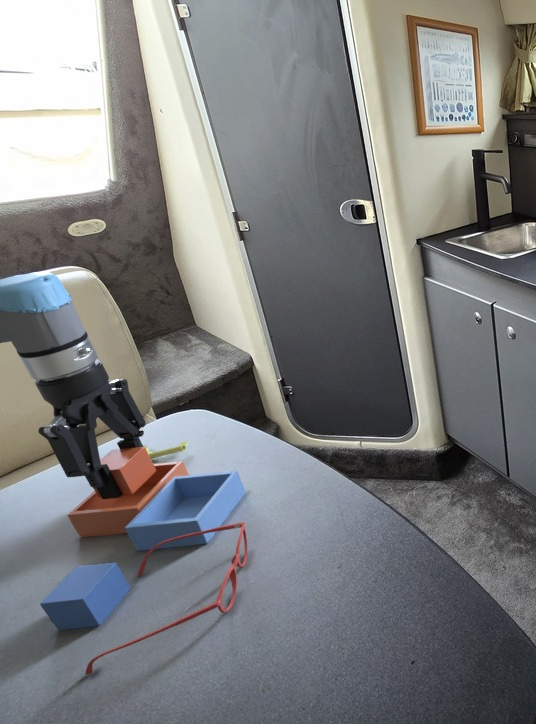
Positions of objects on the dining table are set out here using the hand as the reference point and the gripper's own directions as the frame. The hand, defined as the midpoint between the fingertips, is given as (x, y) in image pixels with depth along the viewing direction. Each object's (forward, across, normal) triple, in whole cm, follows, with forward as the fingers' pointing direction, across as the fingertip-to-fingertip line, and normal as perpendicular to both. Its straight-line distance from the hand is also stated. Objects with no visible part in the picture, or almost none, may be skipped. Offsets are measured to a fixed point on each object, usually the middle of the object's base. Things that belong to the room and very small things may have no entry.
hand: (127, 482), depth 86 cm
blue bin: (+6, -4, -12) cm, 14 cm away
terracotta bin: (+6, 0, 0) cm, 6 cm away
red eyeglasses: (+6, -19, -20) cm, 28 cm away
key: (+6, +13, +8) cm, 16 cm away
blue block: (+6, -19, -8) cm, 21 cm away
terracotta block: (0, 0, 0) cm, 0 cm away
